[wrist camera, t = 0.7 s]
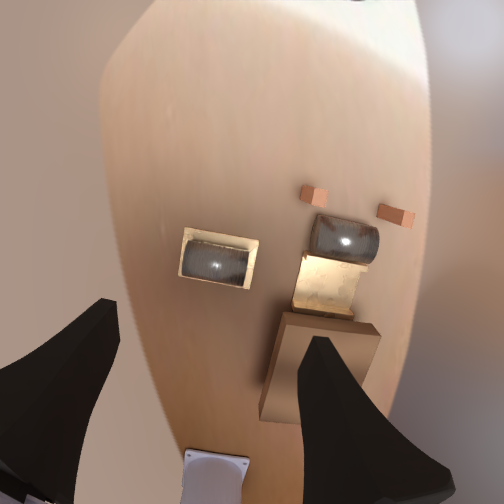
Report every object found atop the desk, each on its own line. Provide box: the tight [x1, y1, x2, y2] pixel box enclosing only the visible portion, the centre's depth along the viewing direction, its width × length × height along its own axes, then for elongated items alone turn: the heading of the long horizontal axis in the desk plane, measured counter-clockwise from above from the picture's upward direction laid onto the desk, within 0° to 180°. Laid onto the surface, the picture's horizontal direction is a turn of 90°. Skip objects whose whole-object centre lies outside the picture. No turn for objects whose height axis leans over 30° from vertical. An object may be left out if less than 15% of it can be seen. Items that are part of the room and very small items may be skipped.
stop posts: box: [300, 185, 415, 229], centre depth 24 cm, size 1×8×5 cm, turn 79°
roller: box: [182, 240, 249, 287], centre depth 26 cm, size 5×3×3 cm, turn 79°
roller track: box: [178, 214, 379, 321], centre depth 27 cm, size 19×16×3 cm
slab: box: [259, 311, 382, 424], centre depth 26 cm, size 10×8×2 cm
